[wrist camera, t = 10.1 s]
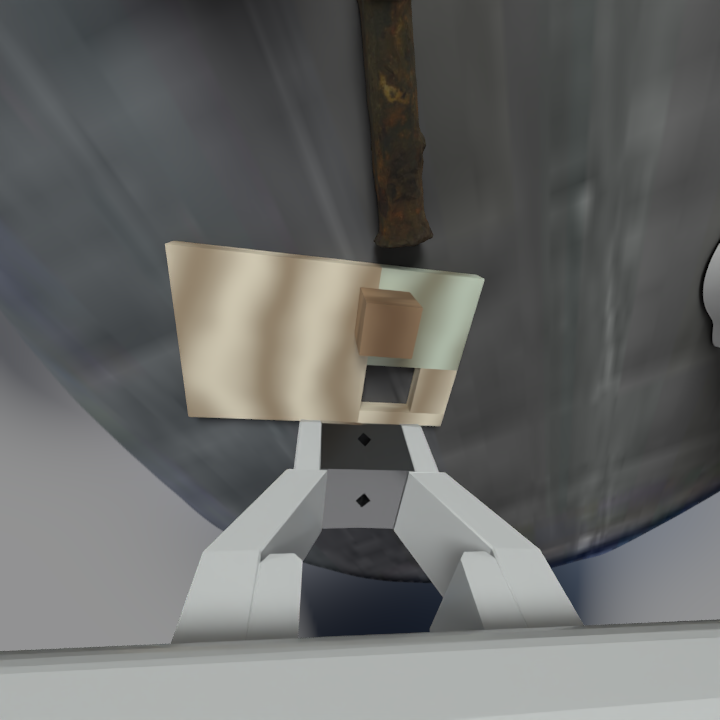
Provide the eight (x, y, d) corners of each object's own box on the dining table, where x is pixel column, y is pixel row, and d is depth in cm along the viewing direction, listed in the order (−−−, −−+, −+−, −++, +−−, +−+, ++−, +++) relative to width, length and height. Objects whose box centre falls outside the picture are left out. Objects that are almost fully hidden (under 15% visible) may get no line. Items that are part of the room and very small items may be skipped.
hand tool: (422, 238, 26) (440, 247, 22) (372, 244, 26) (381, 255, 22) (416, -142, 17) (446, -245, 13) (341, -135, 17) (346, -238, 13)
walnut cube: (409, 292, 26) (423, 308, 23) (400, 337, 28) (411, 359, 24) (360, 287, 26) (366, 303, 22) (354, 333, 27) (359, 355, 24)
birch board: (476, 274, 28) (484, 279, 26) (435, 416, 34) (440, 426, 33) (173, 240, 24) (164, 243, 23) (194, 406, 31) (188, 416, 30)
